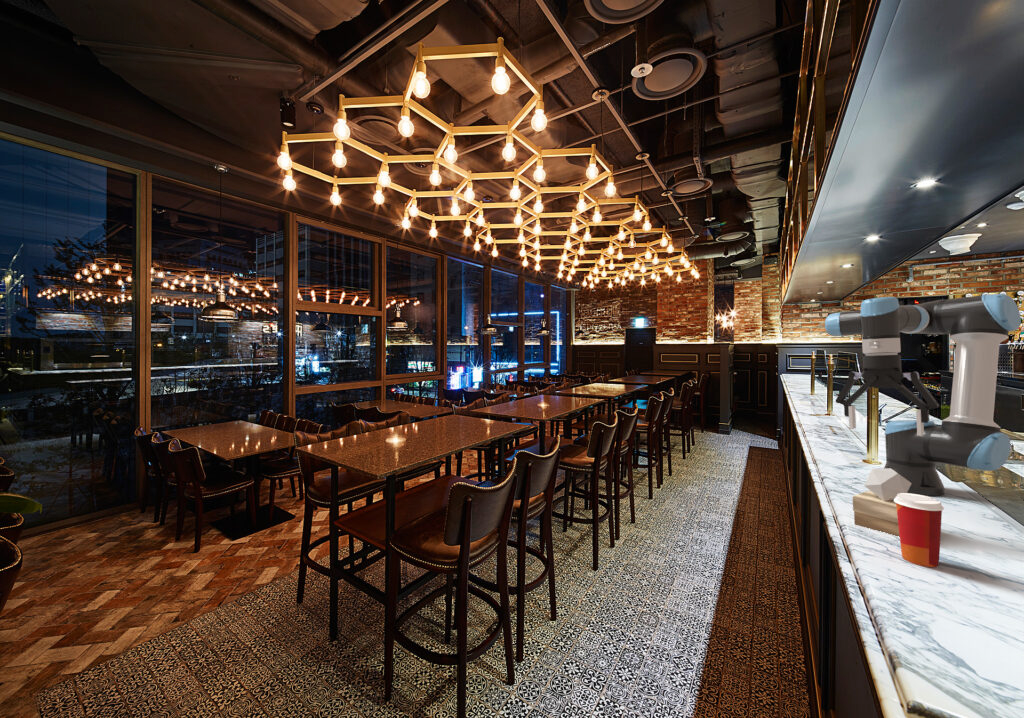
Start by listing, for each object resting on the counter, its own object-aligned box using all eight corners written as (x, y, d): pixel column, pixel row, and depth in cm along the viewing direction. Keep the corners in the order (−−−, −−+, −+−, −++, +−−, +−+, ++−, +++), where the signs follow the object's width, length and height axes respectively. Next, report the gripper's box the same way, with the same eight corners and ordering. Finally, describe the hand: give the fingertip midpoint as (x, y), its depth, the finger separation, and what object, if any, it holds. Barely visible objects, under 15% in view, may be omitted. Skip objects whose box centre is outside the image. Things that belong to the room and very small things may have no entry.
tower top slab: (873, 503, 109) (872, 489, 109) (927, 517, 99) (926, 501, 99) (853, 510, 104) (852, 496, 104) (908, 525, 94) (907, 509, 94)
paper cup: (930, 554, 87) (928, 493, 87) (956, 572, 80) (953, 506, 80) (886, 550, 90) (885, 490, 90) (908, 567, 83) (906, 502, 83)
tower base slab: (869, 516, 110) (869, 502, 110) (925, 530, 100) (924, 515, 100) (854, 526, 104) (854, 511, 104) (911, 542, 94) (911, 525, 94)
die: (916, 509, 96) (922, 475, 99) (880, 491, 97) (887, 458, 100) (886, 509, 103) (893, 477, 106) (854, 493, 105) (861, 461, 108)
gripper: (820, 356, 113) (823, 427, 113) (946, 353, 92) (950, 440, 92) (829, 355, 117) (832, 424, 117) (952, 352, 96) (956, 435, 96)
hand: (884, 431), depth 105 cm, fingers open, 13 cm apart
